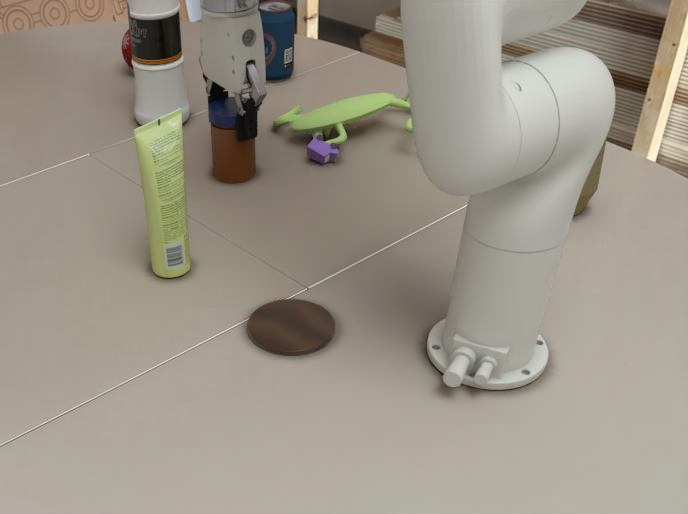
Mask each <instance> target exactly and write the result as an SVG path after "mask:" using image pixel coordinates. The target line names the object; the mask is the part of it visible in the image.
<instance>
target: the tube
mask: <svg viewBox="0 0 688 514" xmlns="http://www.w3.org/2000/svg"><path fill="white" fill-rule="evenodd" d="M183 132H184V131H183V124H182V113H181V108H179V109H177V110H175V111H173V112H171V113H169V114H167V115H165V116H163V117H161V118H159V119H156V120H154V121H152V122H150V123H148V124H145V125H143V126H142V125H140V126H139V127H136V128H134V129H133V137H134V143H135V149H136V155H137V161H138V168H139V176H140V181H141V182H140V183H141V189H142V196H143V204H144V212H145V213H144V214H145V219H146V227H147V236H148V244H149V253H150V262H151V269H152V271H153V273H154V274H155V275H156V276H158V277H161V278H167V279H170V278H178V277H181V276H183V275H185V274H186V273H188V272H189V271H190V269H191V266H192V265H191V263H192V262H191V251H190V250H191V249H190V239H189V237H190V236H189V222H188V208H187V207H188V206H187V193H186V192H187V190H186V175H185V174H186V173H185V157H184V155H185V154H184V134H183Z"/></svg>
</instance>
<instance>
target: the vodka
mask: <svg viewBox="0 0 688 514" xmlns="http://www.w3.org/2000/svg"><path fill="white" fill-rule="evenodd" d="M125 2H126V10H127V20H128V29H129V30H130V39H131V48H132V57H133V59H132V65H133V69H132V70H133V75H134V94H135V96H134V97H135V98H134V101H135V102H134V107H133V108H134V109H133V110H134V118H135V119H136V122H137V124H139V125H140V126H143V125H145V124H148V123H150V122H152V121H154V120H156V119H159V118H161V117H163V116H165V115H167V114H169V113H171V112H173V111H175V110H177V109H179V108H181V113H182V125H183V124H184V123H186V122H187V121H188V120H189V118H190V115H191V106H190V105H191V104H190V102H189V98H188V93H187V88H186V82H185V81H186V80H185V73H184V61H185V57H184V55H183V47H182V45H183V44H182V33H181V18H180V17H181V16H180V10H181V3H180V0H125Z"/></svg>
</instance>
